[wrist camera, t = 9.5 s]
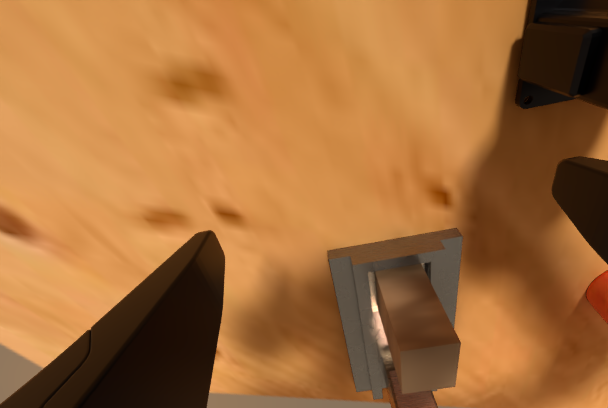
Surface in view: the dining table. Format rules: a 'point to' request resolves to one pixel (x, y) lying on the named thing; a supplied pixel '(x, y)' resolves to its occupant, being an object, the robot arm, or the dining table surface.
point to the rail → (364, 310)
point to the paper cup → (599, 295)
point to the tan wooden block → (416, 329)
